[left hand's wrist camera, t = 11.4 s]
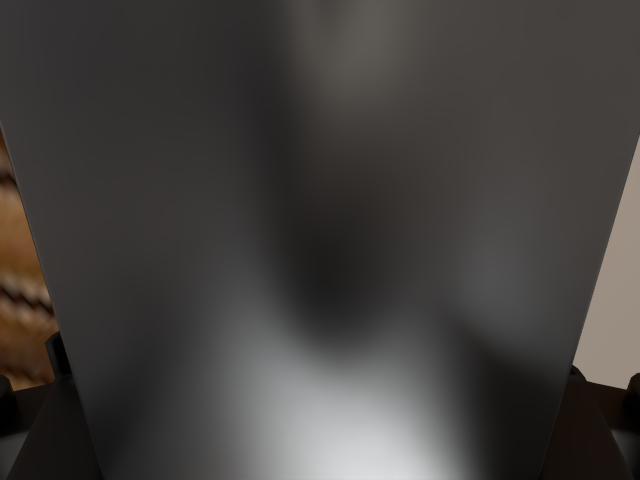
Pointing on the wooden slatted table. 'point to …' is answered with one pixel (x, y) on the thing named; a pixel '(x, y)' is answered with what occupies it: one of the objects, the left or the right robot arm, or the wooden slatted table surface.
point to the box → (320, 223)
